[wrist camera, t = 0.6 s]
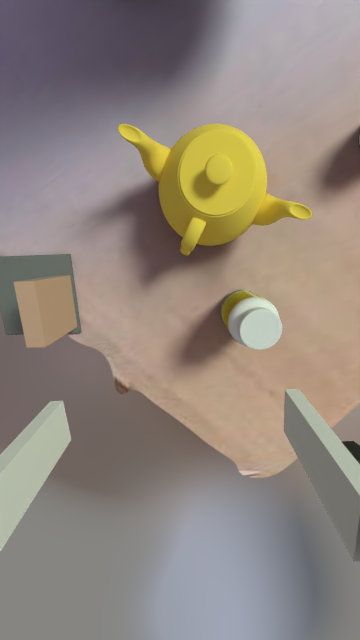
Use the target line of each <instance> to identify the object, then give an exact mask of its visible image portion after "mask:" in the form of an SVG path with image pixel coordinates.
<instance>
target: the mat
mask: <svg viewBox="0 0 360 640" xmlns="http://www.w3.org/2000/svg"><path fill="white" fill-rule="evenodd" d="M59 275H70V278H71V285H72V292H73V299H74V306H75V313H76V320H77V328H75V329H73V330H72V331H70V332H69V333H81V327H80V320H79V312H78V305H77V298H76V291H75V284H74V276H73V269H72V262H71V255H70V254H61V255H35V256H8V257H0V308H1V313H2V318H3V322H4V327H5V331H6V335H14V334H15V335H17V334H24V332H23V327H22V322H21V317H20V312H19V307H18V302H17V297H16V292H15V287H14V282H15V281H22V280H29V279H35V278H42V277H49V276H59Z"/></svg>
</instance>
